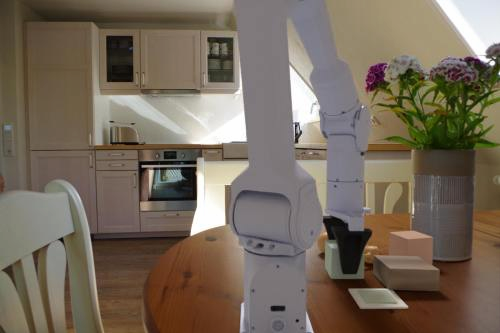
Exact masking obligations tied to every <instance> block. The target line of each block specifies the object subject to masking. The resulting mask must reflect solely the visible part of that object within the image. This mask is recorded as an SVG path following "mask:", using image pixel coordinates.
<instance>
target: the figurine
mask: <svg viewBox="0 0 500 333" xmlns="http://www.w3.org/2000/svg"><path fill="white" fill-rule="evenodd" d="M325 240H328V236H327V232H323V233H322V232H321V233H320V236H319V238H318V239H317V241H316V245H317V248H318V250H320V251H321V253H323V254H325ZM380 253H381V252H380V249H379V247H378V246H375V245H368V244H366V246H365V254H364V260H365V259H366V260H367V261H371V263H373V262H374V255H380Z"/></svg>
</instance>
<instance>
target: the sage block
mask: <svg viewBox="0 0 500 333" xmlns="http://www.w3.org/2000/svg"><path fill="white" fill-rule="evenodd" d="M364 254H365V248H364V251H363V254H362V257H361V261H360V265H359V269H358V272H357V274H343V273H342V270H341V266H340V258H339V250H338V245H337V241H336V240H325V253H324V269H325V270H326V272H327V274H328V276H329V277H330V279H331V280H342V279H343V280H362V279H363V280H364V279H365V258H364Z"/></svg>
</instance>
